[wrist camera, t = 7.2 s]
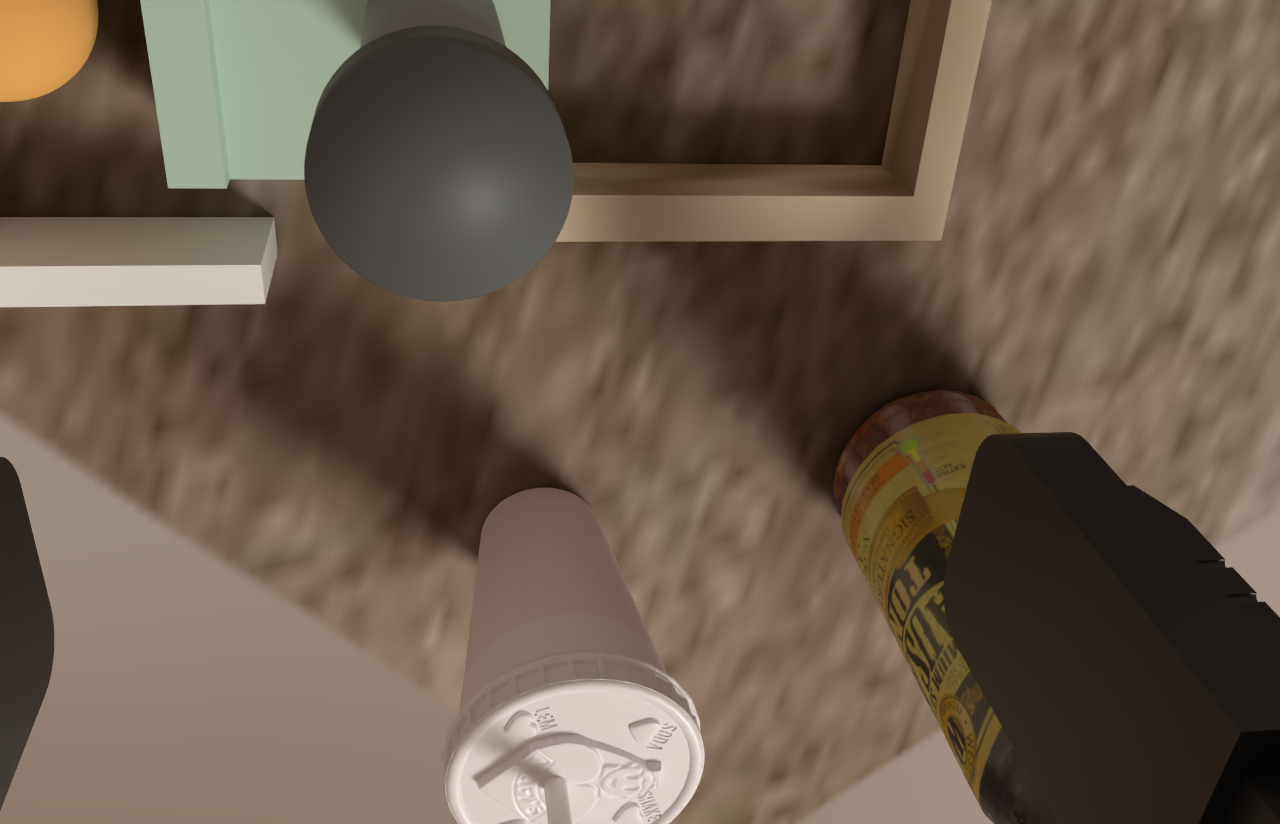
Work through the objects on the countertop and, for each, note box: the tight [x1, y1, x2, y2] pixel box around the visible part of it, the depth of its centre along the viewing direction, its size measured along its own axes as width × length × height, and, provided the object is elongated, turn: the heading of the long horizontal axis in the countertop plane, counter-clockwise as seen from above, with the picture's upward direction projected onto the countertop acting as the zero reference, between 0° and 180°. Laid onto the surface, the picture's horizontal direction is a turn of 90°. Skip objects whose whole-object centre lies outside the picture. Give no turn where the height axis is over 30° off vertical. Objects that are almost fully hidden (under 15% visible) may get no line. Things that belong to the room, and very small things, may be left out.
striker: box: [140, 0, 574, 302], centre depth 22 cm, size 8×7×13 cm
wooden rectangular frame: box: [555, 0, 992, 242], centre depth 27 cm, size 14×10×2 cm
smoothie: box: [442, 488, 704, 824], centre depth 30 cm, size 6×6×14 cm
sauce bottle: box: [832, 389, 1057, 824], centre depth 29 cm, size 7×6×20 cm
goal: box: [0, 217, 278, 307], centre depth 24 cm, size 8×13×5 cm, turn 176°
